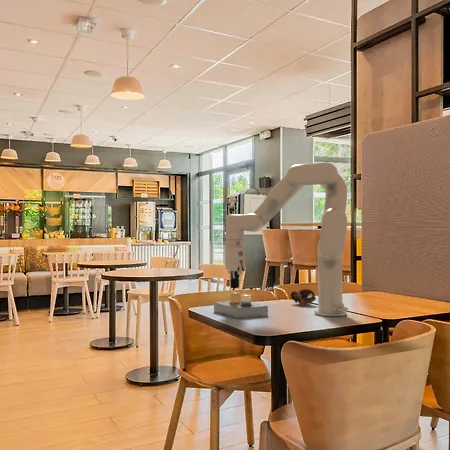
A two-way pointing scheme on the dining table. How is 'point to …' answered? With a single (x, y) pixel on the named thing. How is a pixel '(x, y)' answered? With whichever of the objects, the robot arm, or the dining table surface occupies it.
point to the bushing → (235, 298)
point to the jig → (241, 308)
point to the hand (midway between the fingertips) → (234, 287)
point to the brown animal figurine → (303, 296)
